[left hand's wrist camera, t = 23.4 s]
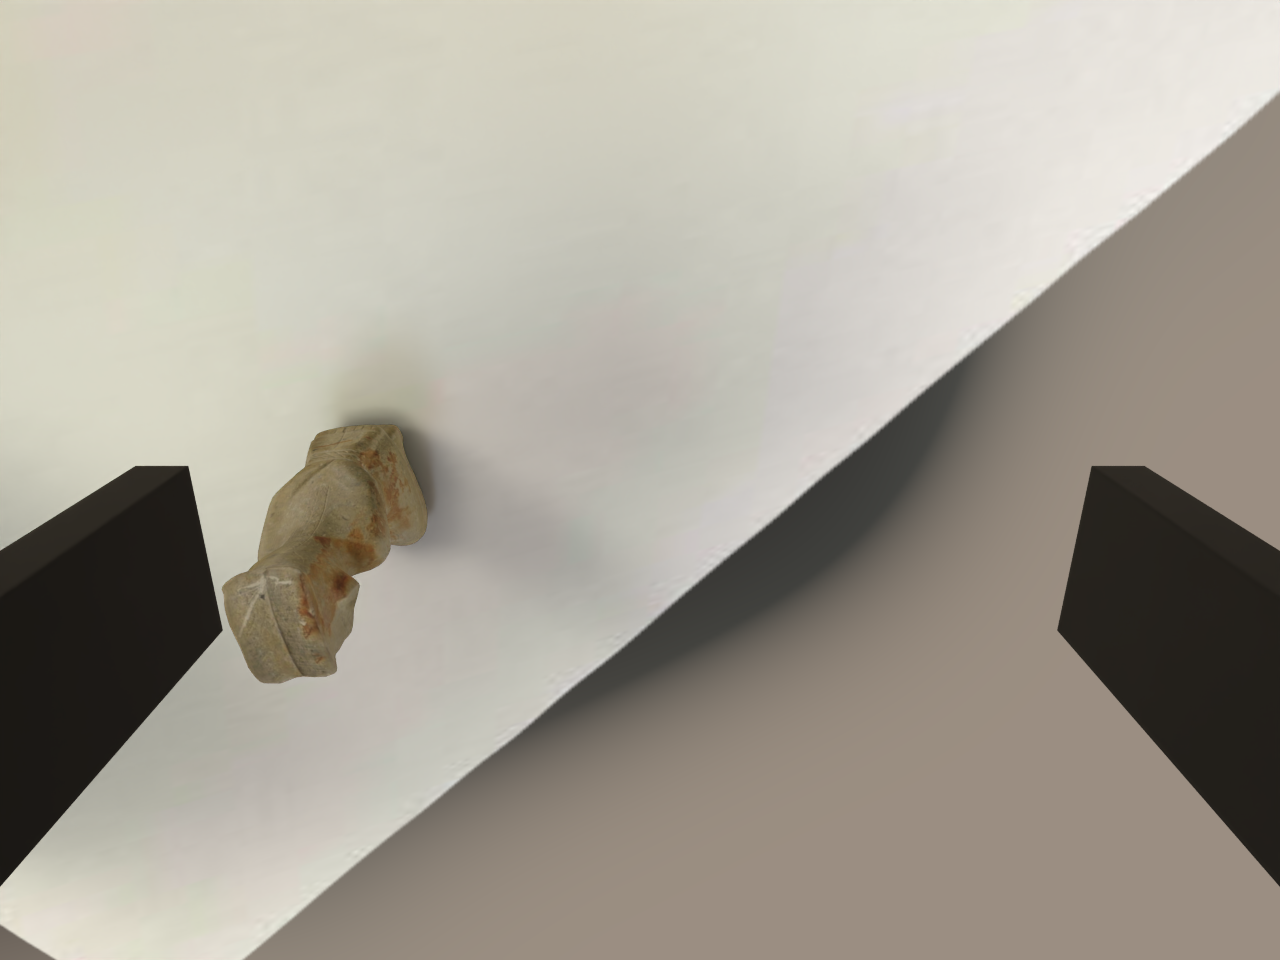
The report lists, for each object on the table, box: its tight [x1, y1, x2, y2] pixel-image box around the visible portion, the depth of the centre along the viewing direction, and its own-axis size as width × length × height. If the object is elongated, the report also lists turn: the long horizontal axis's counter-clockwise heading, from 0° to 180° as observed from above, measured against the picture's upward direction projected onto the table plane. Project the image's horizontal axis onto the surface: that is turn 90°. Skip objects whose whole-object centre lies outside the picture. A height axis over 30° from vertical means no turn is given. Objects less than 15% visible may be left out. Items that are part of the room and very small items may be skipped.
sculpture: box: [222, 425, 427, 683], centre depth 38 cm, size 6×7×15 cm
